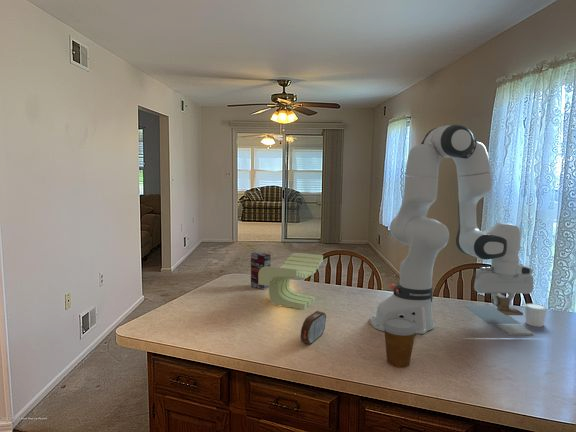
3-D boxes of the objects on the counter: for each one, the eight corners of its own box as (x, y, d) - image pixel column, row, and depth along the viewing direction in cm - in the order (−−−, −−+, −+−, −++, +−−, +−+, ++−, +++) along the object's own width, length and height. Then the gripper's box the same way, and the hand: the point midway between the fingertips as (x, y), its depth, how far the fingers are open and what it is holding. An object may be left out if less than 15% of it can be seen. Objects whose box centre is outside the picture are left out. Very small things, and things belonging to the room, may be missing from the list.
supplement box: (250, 286, 203) (250, 253, 201) (257, 284, 206) (257, 251, 204) (263, 290, 197) (263, 255, 195) (270, 288, 201) (271, 254, 199)
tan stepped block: (486, 302, 164) (487, 292, 163) (502, 302, 164) (502, 292, 164) (505, 315, 150) (506, 303, 150) (522, 315, 150) (523, 304, 150)
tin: (318, 331, 149) (319, 307, 148) (327, 332, 147) (327, 308, 146) (299, 346, 136) (299, 320, 135) (308, 348, 134) (309, 322, 133)
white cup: (548, 329, 153) (550, 309, 152) (527, 327, 154) (528, 308, 154) (541, 322, 160) (542, 303, 159) (521, 320, 161) (522, 302, 160)
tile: (497, 329, 154) (509, 337, 146) (497, 324, 154) (509, 333, 146) (519, 329, 154) (532, 338, 146) (520, 324, 154) (533, 333, 146)
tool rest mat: (487, 324, 157) (487, 323, 157) (464, 306, 177) (464, 305, 177) (520, 324, 157) (520, 323, 157) (493, 307, 177) (493, 305, 177)
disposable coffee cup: (377, 356, 129) (378, 317, 128) (408, 355, 130) (410, 316, 129) (387, 370, 120) (388, 329, 119) (420, 369, 121) (422, 328, 119)
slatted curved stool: (288, 290, 197) (289, 251, 195) (322, 295, 191) (322, 255, 189) (258, 310, 170) (258, 265, 168) (295, 316, 163) (296, 269, 161)
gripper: (480, 269, 154) (477, 307, 155) (537, 269, 154) (534, 307, 155) (472, 265, 160) (470, 301, 161) (527, 265, 160) (524, 302, 162)
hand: (502, 304), depth 158 cm, fingers closed on tan stepped block, 2 cm apart
